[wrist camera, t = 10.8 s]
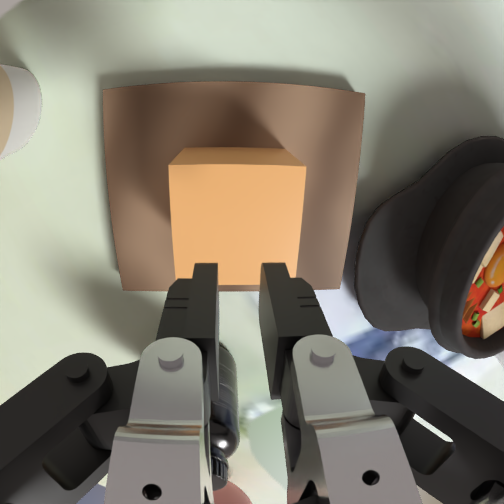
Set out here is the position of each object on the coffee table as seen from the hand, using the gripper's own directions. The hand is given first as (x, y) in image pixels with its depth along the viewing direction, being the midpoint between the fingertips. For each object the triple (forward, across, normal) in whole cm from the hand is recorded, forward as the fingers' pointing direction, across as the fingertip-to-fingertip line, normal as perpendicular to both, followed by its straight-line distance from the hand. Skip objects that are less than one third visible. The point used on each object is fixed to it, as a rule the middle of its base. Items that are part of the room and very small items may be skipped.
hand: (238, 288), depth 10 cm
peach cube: (+11, 0, 0) cm, 11 cm away
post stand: (+12, 0, 0) cm, 12 cm away
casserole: (+12, -21, +3) cm, 25 cm away
